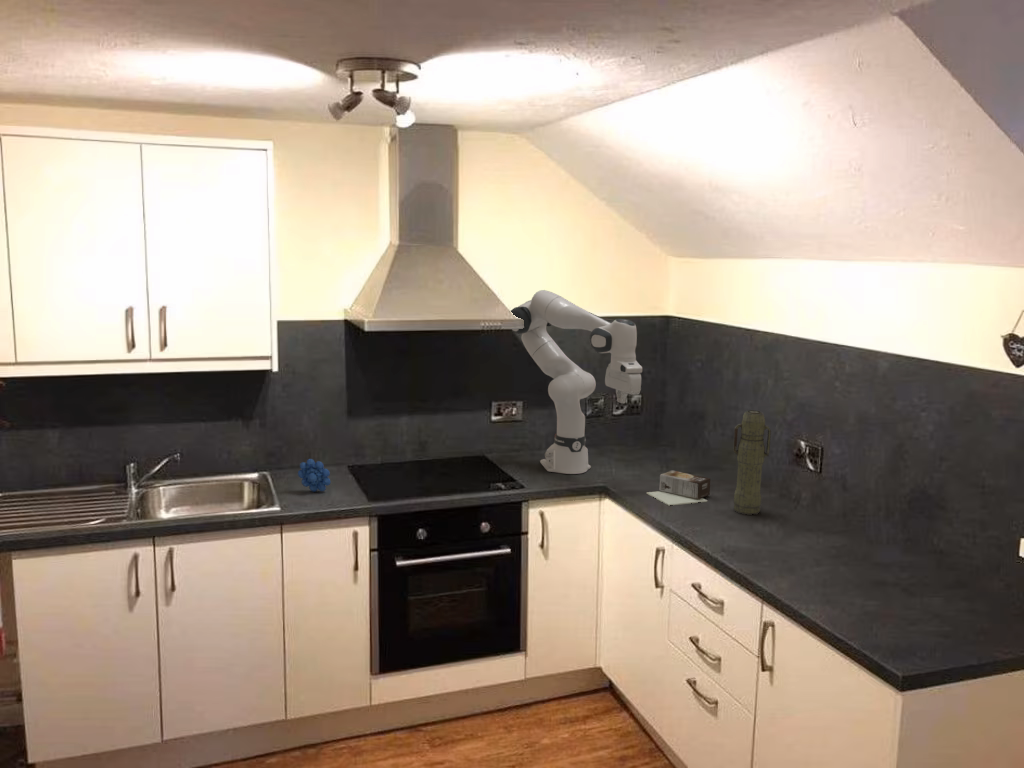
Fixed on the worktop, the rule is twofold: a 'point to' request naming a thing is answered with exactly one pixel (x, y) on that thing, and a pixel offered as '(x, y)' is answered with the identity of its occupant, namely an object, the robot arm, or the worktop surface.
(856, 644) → the worktop surface
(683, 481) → the coffee box
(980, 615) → the worktop surface
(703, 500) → the mat
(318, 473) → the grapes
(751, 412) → the thermos
